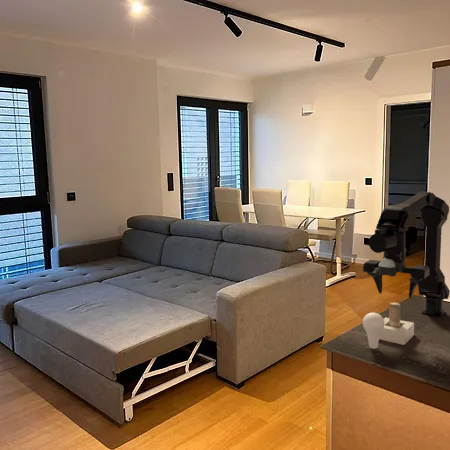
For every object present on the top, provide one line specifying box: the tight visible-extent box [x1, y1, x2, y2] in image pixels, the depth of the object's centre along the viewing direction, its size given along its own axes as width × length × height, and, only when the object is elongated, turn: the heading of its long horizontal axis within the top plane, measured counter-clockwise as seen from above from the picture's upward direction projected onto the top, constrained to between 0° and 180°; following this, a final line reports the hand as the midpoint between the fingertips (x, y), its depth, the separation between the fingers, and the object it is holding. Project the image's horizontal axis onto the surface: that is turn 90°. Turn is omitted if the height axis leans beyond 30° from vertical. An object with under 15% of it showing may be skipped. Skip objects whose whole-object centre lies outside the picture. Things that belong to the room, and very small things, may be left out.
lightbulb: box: [362, 312, 385, 350], centre depth 133 cm, size 6×6×11 cm
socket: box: [379, 317, 415, 346], centre depth 141 cm, size 9×9×4 cm
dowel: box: [388, 302, 401, 328], centre depth 141 cm, size 3×3×10 cm
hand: (395, 295), depth 142 cm, fingers open, 9 cm apart
